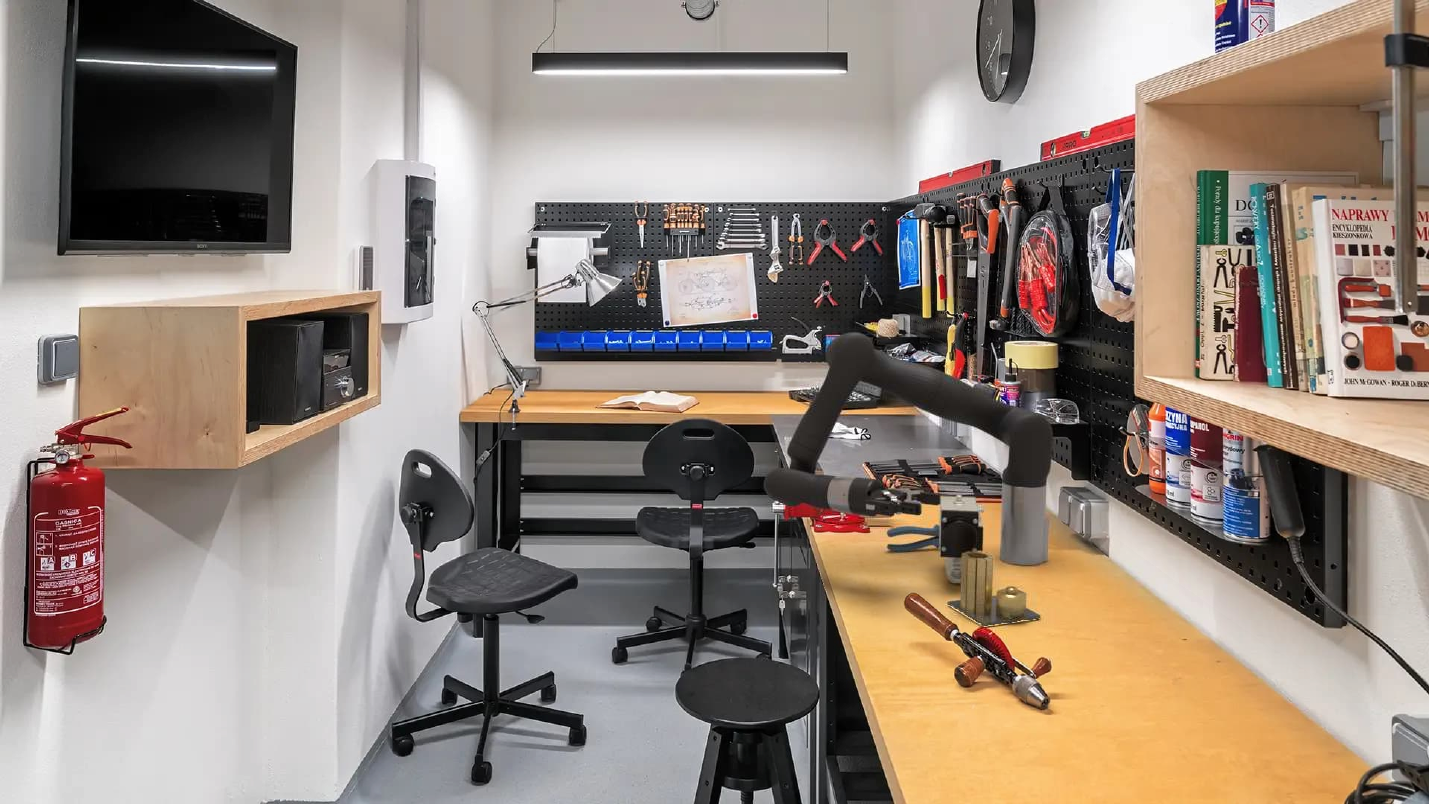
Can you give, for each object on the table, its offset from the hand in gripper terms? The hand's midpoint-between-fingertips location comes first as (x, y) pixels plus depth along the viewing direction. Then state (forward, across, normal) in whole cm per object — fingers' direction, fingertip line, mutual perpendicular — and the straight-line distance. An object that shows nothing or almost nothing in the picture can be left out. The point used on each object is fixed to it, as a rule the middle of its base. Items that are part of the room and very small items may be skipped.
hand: (930, 504), depth 180 cm
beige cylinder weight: (+16, -1, +20) cm, 25 cm away
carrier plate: (+12, +1, +19) cm, 23 cm away
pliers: (-15, +32, +20) cm, 40 cm away
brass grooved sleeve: (+9, -1, +18) cm, 21 cm away
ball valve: (-1, +16, +20) cm, 25 cm away
